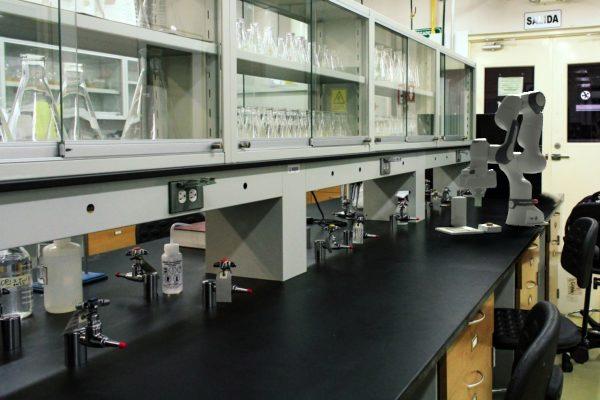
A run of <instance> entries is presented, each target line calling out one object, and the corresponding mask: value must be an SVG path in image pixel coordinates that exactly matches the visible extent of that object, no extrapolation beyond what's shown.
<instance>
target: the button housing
mask: <svg viewBox="0 0 600 400" xmlns="http://www.w3.org/2000/svg"><path fill="white" fill-rule="evenodd" d="M486 224H487V223H484V224H478V227H477V229H478V230H482V231H484V233H487V234H491V233H493V234H494V233H502V226H501V225H498V224H494V223H493V226H486Z"/></svg>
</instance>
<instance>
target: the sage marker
mask: <svg viewBox="0 0 600 400" xmlns="http://www.w3.org/2000/svg"><path fill="white" fill-rule="evenodd" d="M474 192H475V194H477V195H476V197H474V207H482V197H481V192H482V188H477V189H475V191H474Z"/></svg>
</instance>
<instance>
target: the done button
mask: <svg viewBox="0 0 600 400" xmlns="http://www.w3.org/2000/svg"><path fill="white" fill-rule="evenodd" d="M485 224H486V226H493V224H494V223H493V222H486V223H485Z"/></svg>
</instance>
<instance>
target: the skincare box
mask: <svg viewBox="0 0 600 400" xmlns="http://www.w3.org/2000/svg"><path fill="white" fill-rule="evenodd" d="M450 202H451V203H450V205H451V208H450V209H451V210H450V211H451V214H450V215H451V217H450V218H451V221H450V222H451V223H450V224H451V226H452V227H464V226H466V227H467V197H466V196H463V195H462V196H451V201H450Z"/></svg>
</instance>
